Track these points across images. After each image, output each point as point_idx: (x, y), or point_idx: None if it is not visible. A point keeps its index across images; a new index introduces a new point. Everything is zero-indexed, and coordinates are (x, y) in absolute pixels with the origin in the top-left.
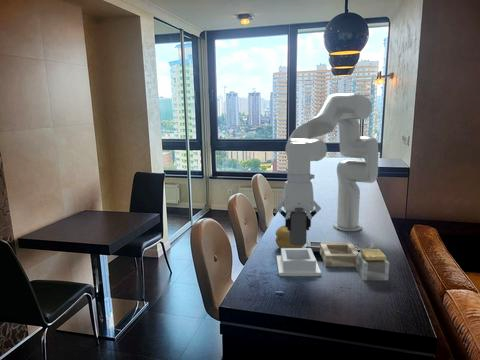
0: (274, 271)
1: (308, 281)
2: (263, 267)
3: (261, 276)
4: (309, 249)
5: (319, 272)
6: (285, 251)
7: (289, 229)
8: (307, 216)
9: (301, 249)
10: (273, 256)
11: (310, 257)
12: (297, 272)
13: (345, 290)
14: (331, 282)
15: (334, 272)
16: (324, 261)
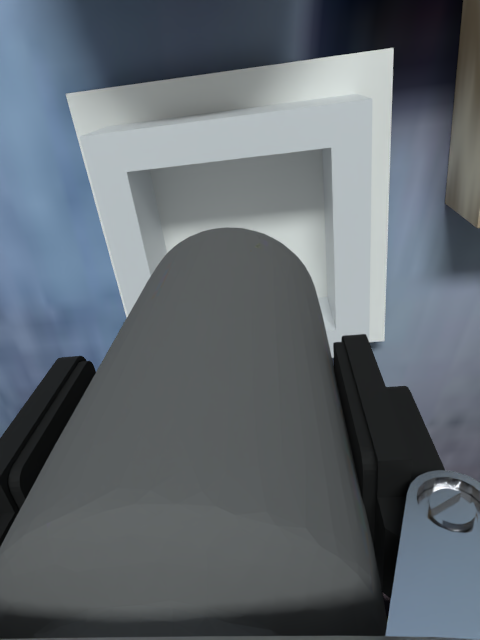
0: (106, 298)
1: None
2: (27, 254)
3: (51, 357)
4: (352, 139)
5: (374, 338)
6: (133, 207)
7: None
8: (392, 574)
9: (274, 146)
10: (41, 49)
11: (337, 304)
12: None
13: (465, 445)
14: (420, 386)
15: (476, 279)
16: (455, 146)
